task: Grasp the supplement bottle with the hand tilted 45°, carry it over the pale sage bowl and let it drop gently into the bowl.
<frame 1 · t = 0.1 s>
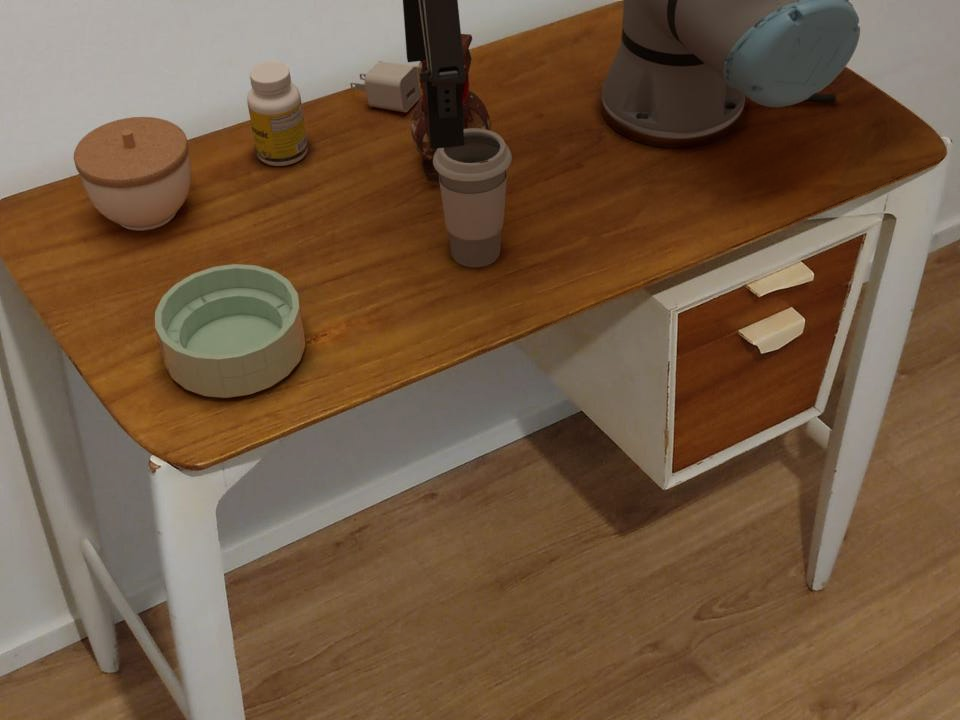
hand: (434, 100, 109), 19 cm above the table, tool pointing down, fingers open, 13 cm apart
supplement bottle: (282, 154, 137), on the table
cup: (475, 254, 124), on the table
trinket box: (146, 213, 130), on the table
sage bowl: (236, 352, 114), on the table
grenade: (450, 164, 134), on the table
usb wall charger: (379, 66, 140), point 4 cm above the table
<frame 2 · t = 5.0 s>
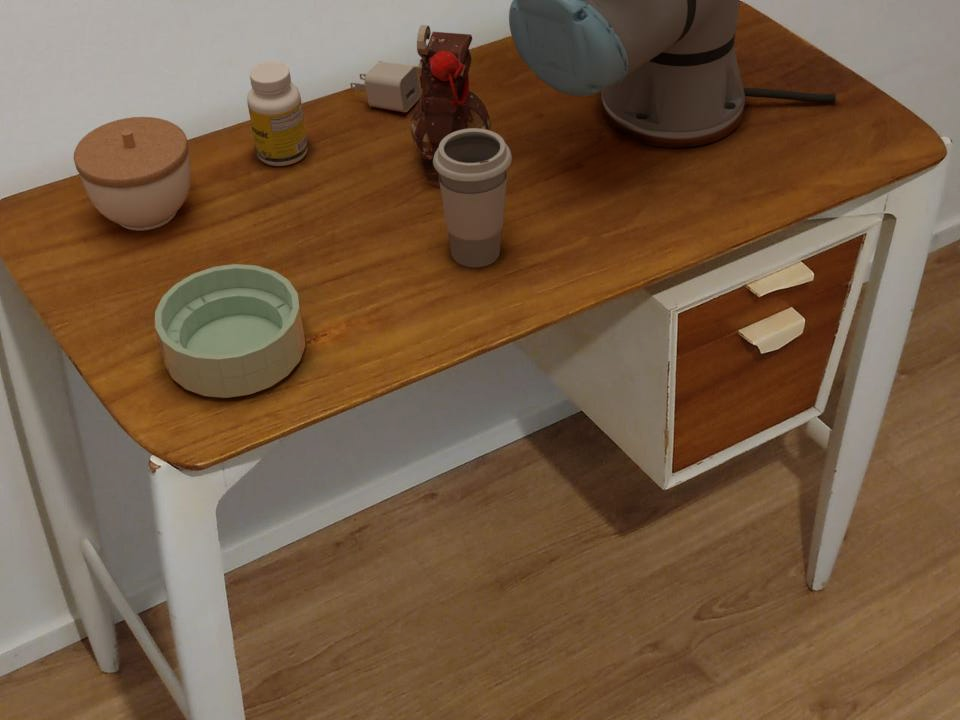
nothing on the table moved.
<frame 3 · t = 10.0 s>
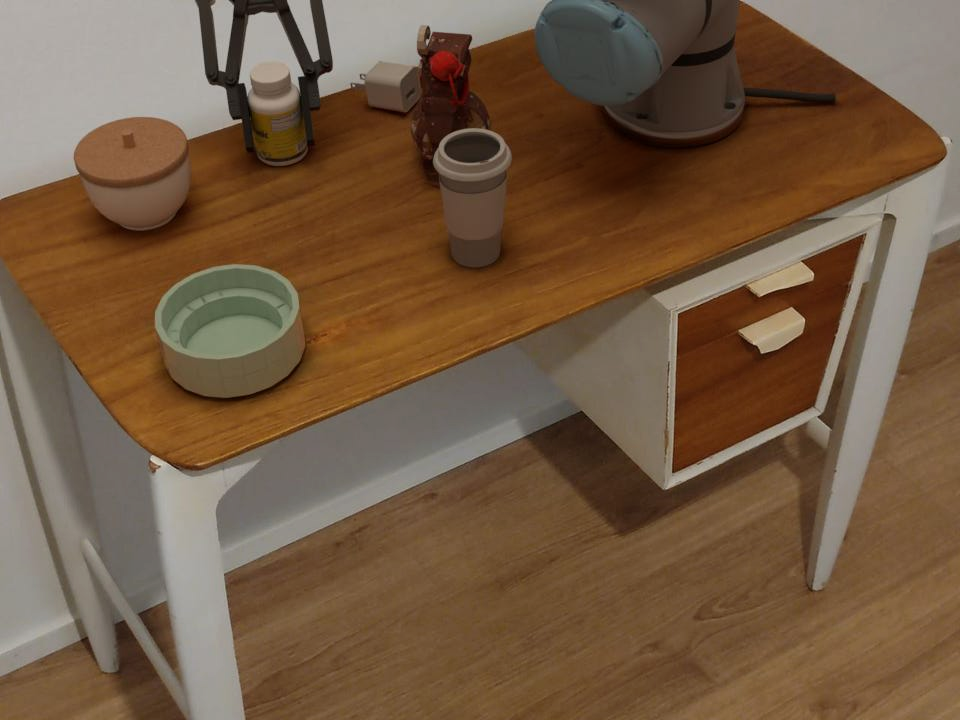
hand: (280, 146, 131), 3 cm above the table, tool tilted 45°, fingers closed on supplement bottle, 5 cm apart
supplement bottle: (282, 154, 137), on the table, touching gripper
everything else where it was.
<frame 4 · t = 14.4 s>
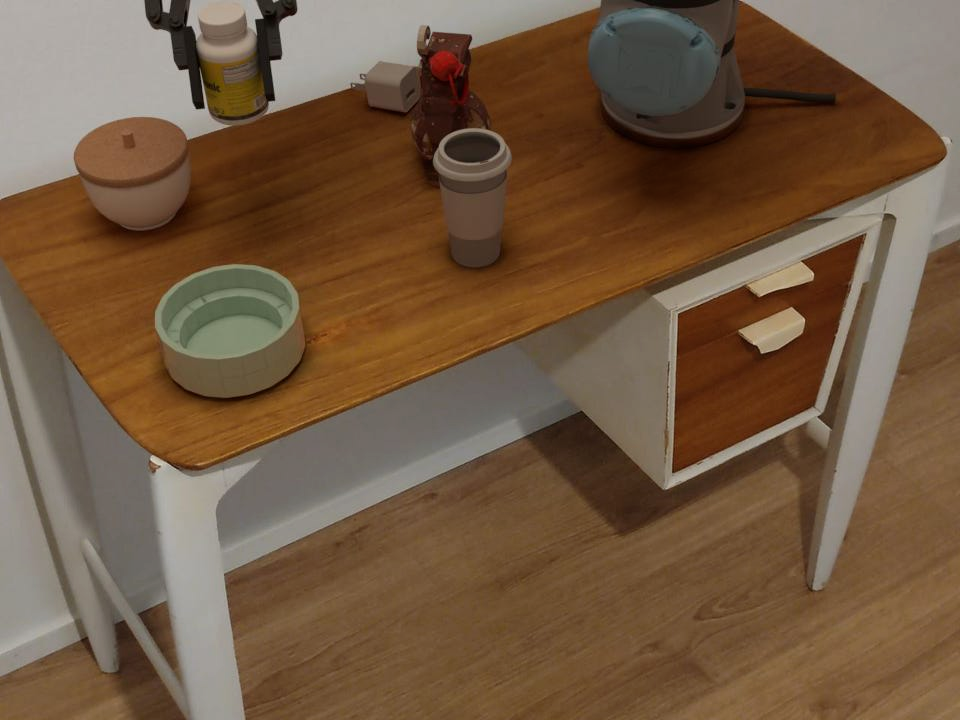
hand: (234, 101, 112), 17 cm above the table, tool tilted 45°, fingers closed on supplement bottle, 5 cm apart
supplement bottle: (239, 113, 117), point 14 cm above the table, touching gripper
everything else where it was.
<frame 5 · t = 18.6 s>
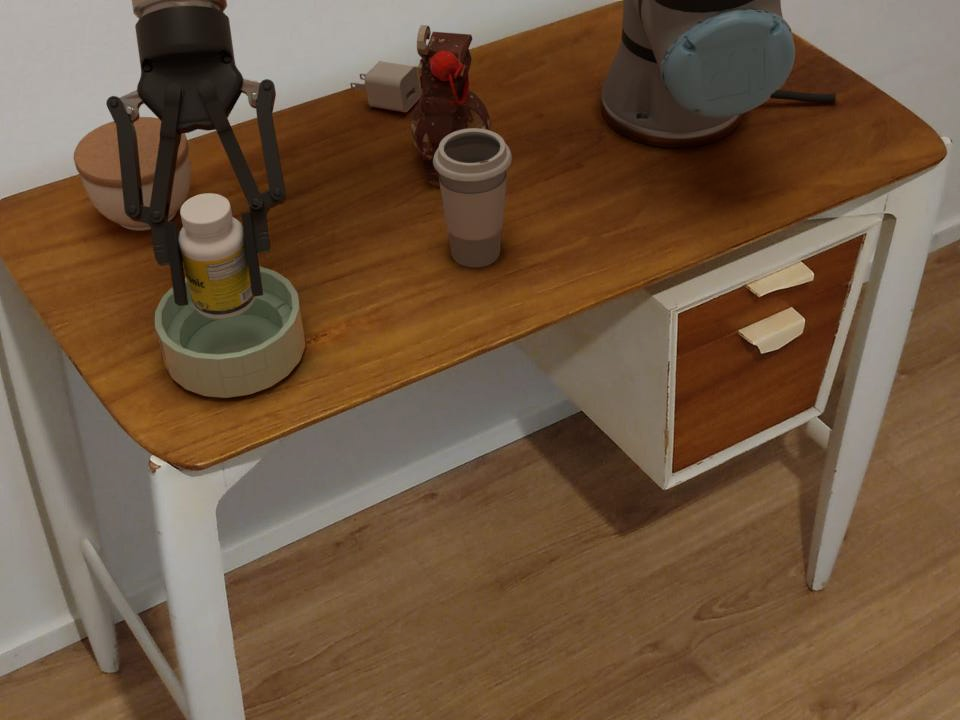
hand: (219, 298, 105), 9 cm above the table, tool tilted 45°, fingers closed on supplement bottle, 5 cm apart
supplement bottle: (225, 302, 110), point 6 cm above the table, touching gripper
everything else where it was.
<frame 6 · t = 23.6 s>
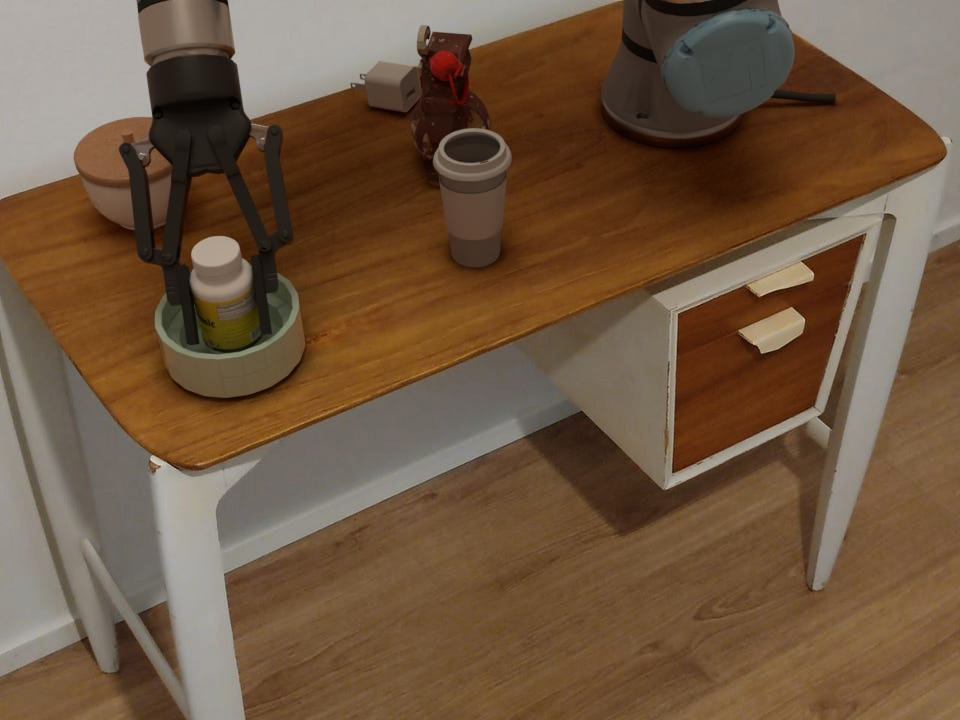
hand: (230, 338, 108), 5 cm above the table, tool tilted 45°, fingers closed on supplement bottle, 5 cm apart
supplement bottle: (235, 339, 113), point 1 cm above the table, touching gripper
everything else where it was.
when the fingers open (7 cm above the table, at t = 27.4 s): supplement bottle drops 3 cm, resting on sage bowl.
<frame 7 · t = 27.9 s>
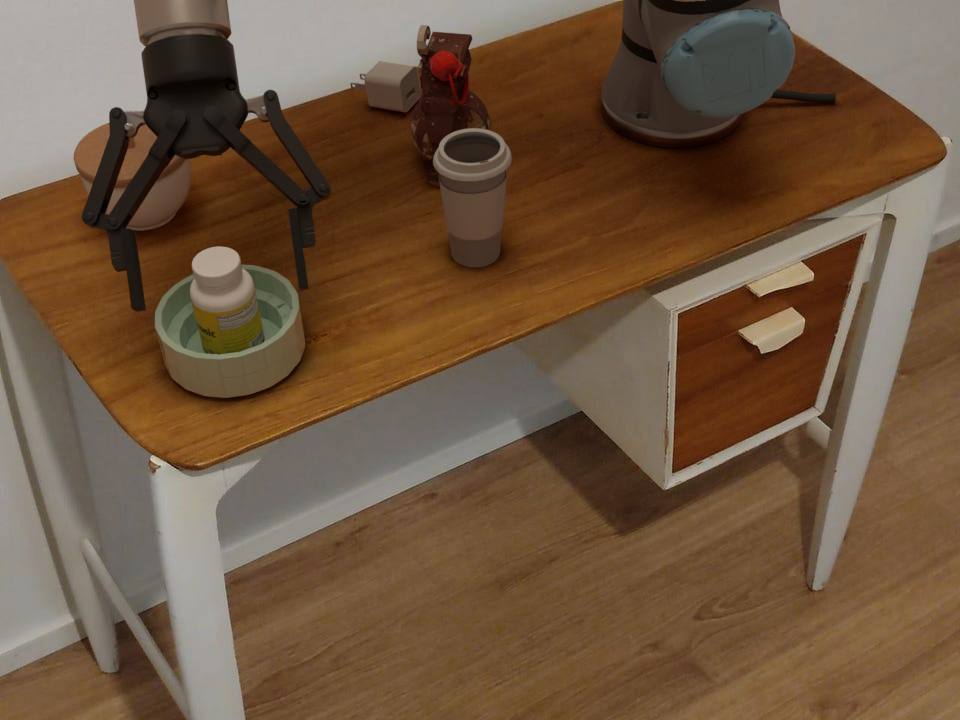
hand: (222, 299, 107), 8 cm above the table, tool tilted 45°, fingers open, 13 cm apart
supplement bottle: (235, 349, 114), resting on sage bowl
everything else where it was.
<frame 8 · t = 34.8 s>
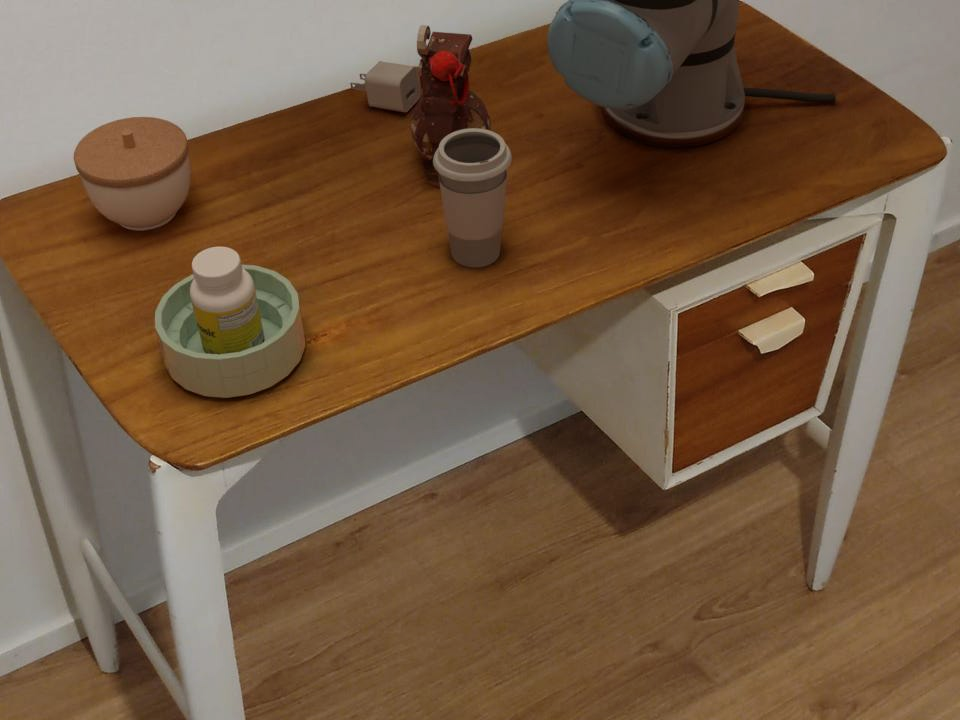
nothing on the table moved.
at the end: supplement bottle inside the target area in the sage bowl (0.1 cm from its centre), point 0.3 cm above the sage bowl's base; the gripper is holding nothing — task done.
